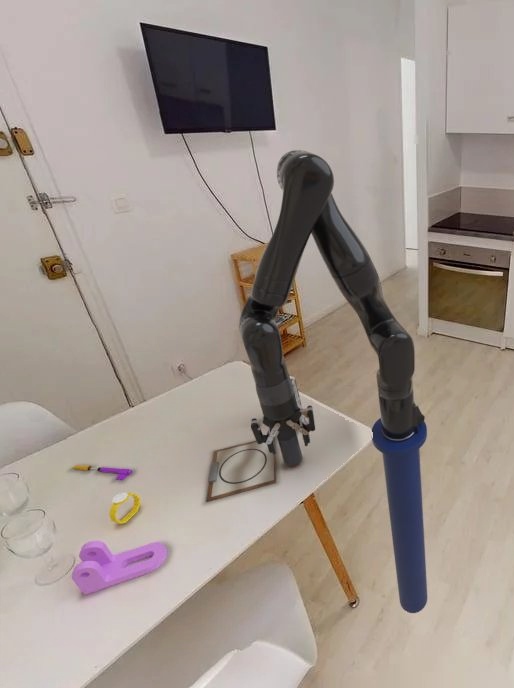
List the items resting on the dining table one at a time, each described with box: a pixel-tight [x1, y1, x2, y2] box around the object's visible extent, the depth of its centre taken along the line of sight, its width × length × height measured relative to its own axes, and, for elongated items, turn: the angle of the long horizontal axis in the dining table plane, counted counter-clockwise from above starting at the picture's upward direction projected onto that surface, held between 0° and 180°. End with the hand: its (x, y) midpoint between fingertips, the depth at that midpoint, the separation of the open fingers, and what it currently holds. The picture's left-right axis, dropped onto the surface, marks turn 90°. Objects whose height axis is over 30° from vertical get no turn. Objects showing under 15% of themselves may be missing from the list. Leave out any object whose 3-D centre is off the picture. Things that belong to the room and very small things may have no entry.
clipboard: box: [205, 436, 277, 503], centre depth 100 cm, size 15×16×1 cm
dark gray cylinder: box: [276, 428, 304, 468], centre depth 99 cm, size 4×4×10 cm
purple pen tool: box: [72, 464, 133, 481], centre depth 100 cm, size 3×1×16 cm
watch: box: [109, 492, 141, 525], centre depth 88 cm, size 6×3×6 cm, turn 169°
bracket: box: [70, 540, 168, 596], centre depth 78 cm, size 13×6×7 cm, turn 112°
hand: (290, 447), depth 99 cm, fingers open, 7 cm apart
